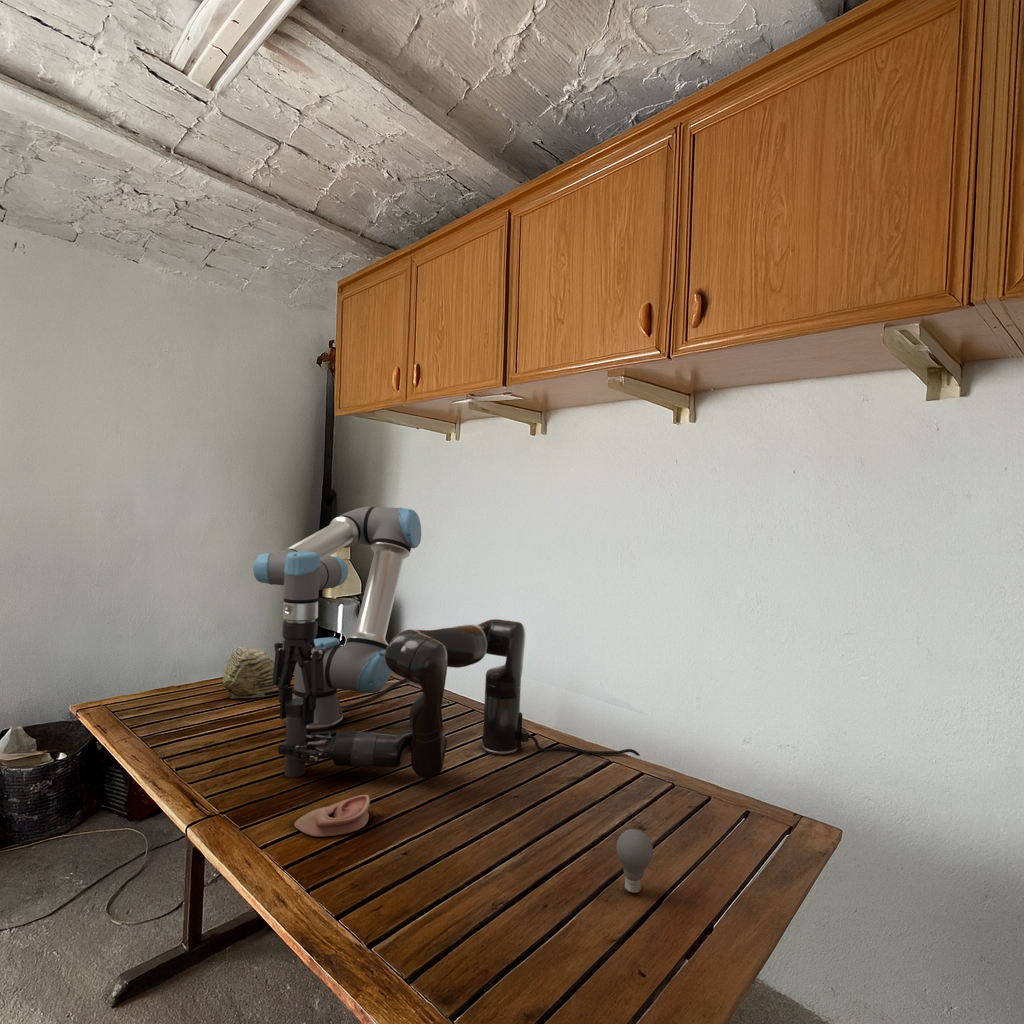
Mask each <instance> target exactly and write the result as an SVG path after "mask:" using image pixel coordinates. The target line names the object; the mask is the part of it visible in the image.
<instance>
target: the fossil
mask: <svg viewBox="0 0 1024 1024" xmlns="http://www.w3.org/2000/svg"><path fill="white" fill-rule="evenodd" d="M274 662H275V660H273V659H272V658H271V657H270V656H269V655H268V654H267V653H266V652H265V650H264V649H263V648H260V647H258V648H251V647H247V646H246V647H245V646H238V647H237V648H236V649H235V650H233V651H232V653H231V656H230V657H229V659H228V660H227V663H226V666H225V668H224V671H223V675H222V676H223V677H222V685H223V687H224V688H225V690H226V691H228V693H229V698H230V699H250V698H264V697H271V696H275V695H279V689H278V686H276V685H275V686H274V685H273V683H272V682H273V672H274ZM278 679H279V678H278Z"/></svg>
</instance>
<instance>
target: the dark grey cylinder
mask: <svg viewBox="0 0 1024 1024" xmlns="http://www.w3.org/2000/svg"><path fill="white" fill-rule="evenodd" d="M302 715H303V714H300V715H290V714H287V715H286V718H285V743H284V744H296V745H301V744H306V735H307V732H306V730H307V725H306V726H303V725H302ZM302 749H306V748H302ZM294 758H295V755H284V772H283V774H284V776H285V777H288V778H298V777H302V776H303V775H305V773H306V763H304V762H299V761H295V760H294Z"/></svg>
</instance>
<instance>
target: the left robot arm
mask: <svg viewBox="0 0 1024 1024" xmlns="http://www.w3.org/2000/svg"><path fill="white" fill-rule="evenodd" d="M420 519H421V518H420V516H419V514H418V513H417V512H416V510H414V509H413V508H405V507H388V506H387V507H385V506H371V505H370V506H369V505H368V506H363V507H362V506H361V507H358V508H354V509H353V510H350V511H347V512H345V513H342V514H340V515H338V516H337V517H334V518H333V519H332V520H331V521H330V522H329V525H327V526H326V527H324V528H321V529H320V530H318V531H315V533H312V534H311V535H309V536H307V537H305V538H304V539H302V540H300V541H298V542H296V543H294V544H292V545H290V546H289V547H287V548H285V549H283V550H281V551H279V552H277V553H273V552H268V553H267V552H266V553H261V554H259V555H258V556H257V557H256V558H255V560H254V563H253V568H252V569H253V570H252V571H253V576H254V578H255V580H256V581H257V582H258V583H261V584H267V585H270V586H271V585H273V586H275V585H276V586H283V590H284V591H283V610H282V612H283V613H282V618H283V619H284V621H282V631H281V633H282V638H284V640H283V641H278V642H275V643H274V653H275V654H274V655H275V656H274V672H273V682H272V683H273V685H274V686H275V685H276V686H278V689H279V694H278V703H279V720H286V715H287V713H285V704H286V701H287V700H289V699H294V698H303V715H302V725H303V726H306V725H307V730H306V733H311V732H326V731H330V730H332V729H335V728H337V727H339V726H340V725H342V723H343V722H344V714H343V709H349V708H352V707H355V706H358V705H361V704H364V703H367V702H370V701H372V700H374V699H376V698H377V697H380V696H381V695H383V694H384V693H386V692H388V691H389V690H390V689H392V688H394V687H395V686H398V685H400V684H402V683H404V682H406V681H408V680H407V679H405V678H403V679H401V680H399V681H397V682H395V683H393V684H391V685H390V686H388V687H386V688H385V689H383V688H384V687H385V685H386V684H387V683H388V681H389V679H390V677H391V675H392V672H393V671H392V670H390V669H389V667H388V666H387V664H386V661H385V652H386V649H387V646H388V644H389V643H388V642H387V640H386V636H387V632H388V627H389V623H390V618H391V615H392V611H393V605H394V601H395V598H396V597H395V596H396V593H397V589H398V584H399V580H400V575H401V572H402V571H401V570H402V566H403V562H404V560H405V559H407V558H408V557H410V555H411V550H412V549H417V548H418V547H419V545H420V544H421V540H422V524H421V520H420ZM355 545H369V546H370V549H371V551H372V552H373V557H372V561H371V564H370V569H369V573H368V577H367V581H366V584H365V589H364V593H363V597H362V601H361V605H360V609H359V613H358V616H357V620H356V625H355V628H354V632H353V633H352V634H350V635H349V636H347V638H346V641H345V645H341V641H340V639H339V638H337V637H318V638H317V636H318V621H317V619H318V618H319V595H320V594H319V593H320V591H321V590H327V589H335V588H336V587H339V586H341V585H343V584H345V581H346V580H347V579H348V576H349V568H348V564H347V562H346V561H345V560H344V559H343V558H342V557H339V556H333V555H334V554H335V553H337V552H338V551H340V550H342V549H348V548H352V547H353V546H355ZM278 678H279V679H278ZM292 680H293V684H291V683H292ZM292 686H293V687H292ZM382 689H383V690H382ZM338 690H342V691H351V692H358V693H361V694H364V693H367V694H368V693H369V694H374V693H375V695H372V696H370V697H368V698H365V699H363V700H360V701H357V702H354V703H351V704H347V705H341V702H340V699H339V695H338ZM381 690H382V691H381ZM378 692H379V693H378ZM376 693H377V694H376Z"/></svg>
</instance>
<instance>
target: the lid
mask: <svg viewBox="0 0 1024 1024" xmlns="http://www.w3.org/2000/svg"><path fill="white" fill-rule="evenodd" d="M285 713H287V714H290V715H300V714H303V698H294V699H293V698H292V699H289V700H287V701H286V704H285Z"/></svg>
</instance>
